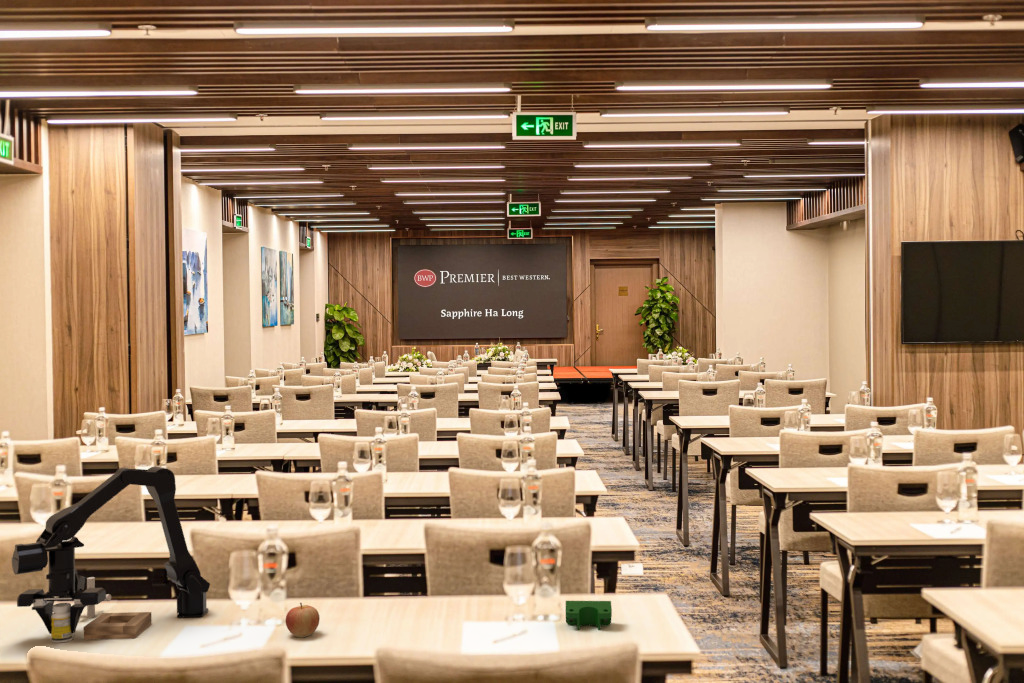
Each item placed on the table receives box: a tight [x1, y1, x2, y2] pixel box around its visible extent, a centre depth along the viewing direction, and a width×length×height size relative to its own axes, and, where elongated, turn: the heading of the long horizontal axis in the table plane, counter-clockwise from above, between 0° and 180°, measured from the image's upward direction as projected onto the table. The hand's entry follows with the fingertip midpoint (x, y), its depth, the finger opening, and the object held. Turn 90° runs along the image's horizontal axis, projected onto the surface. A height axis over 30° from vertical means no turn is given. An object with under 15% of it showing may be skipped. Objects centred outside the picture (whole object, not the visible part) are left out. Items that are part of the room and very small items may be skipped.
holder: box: [83, 611, 152, 640], centre depth 235 cm, size 12×12×3 cm
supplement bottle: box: [50, 602, 74, 644], centre depth 228 cm, size 5×5×8 cm
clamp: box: [565, 600, 613, 631], centre depth 234 cm, size 12×6×9 cm, turn 81°
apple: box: [285, 602, 320, 638], centre depth 230 cm, size 8×8×8 cm
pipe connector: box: [86, 576, 112, 619], centre depth 248 cm, size 10×10×10 cm
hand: (62, 633), depth 228 cm, fingers closed on supplement bottle, 5 cm apart
